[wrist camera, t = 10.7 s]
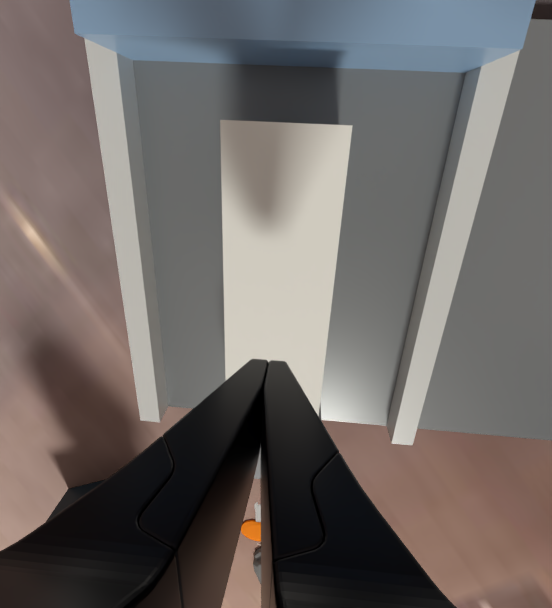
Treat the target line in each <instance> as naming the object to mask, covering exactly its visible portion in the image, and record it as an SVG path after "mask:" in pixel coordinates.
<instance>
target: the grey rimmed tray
mask: <svg viewBox="0 0 552 608" xmlns="http://www.w3.org/2000/svg"><path fill="white" fill-rule="evenodd" d="M535 1H536V0H70V6H71V12H72V19H73V25H74V32H75V34H77V35H79V36H81V37H83V38H85V45H86V52H87V59H88V65H89V72H90V79H91V86H92V93H93V99H94V106H95V113H96V120H97V127H98V134H99V140H100V147H101V154H102V161H103V168H104V175H105V181H106V188H107V195H108V202H109V209H110V216H111V222H112V229H113V236H114V243H115V250H116V257H117V263H118V270H119V277H120V284H121V291H122V298H123V304H124V311H125V318H126V325H127V332H128V338H129V345H130V352H131V359H132V366H133V373H134V379H135V386H136V393H137V400H138V407H139V414H140V420H141V421H152V422H160V421H161V419H162V417H163V415H164V413H165V411H166V410H167V408H168V406H171V407H183V408H195V407H196V406H197V405H198V404H199V403H200V402H202V401H203V400H204V399H205V398H206V397H207V396H209V395H210V394H211V393H212V392H213V391H214V390H216V389H217V388H218V387H219V386H220V385H221V384H223V383H224V382H225V381H226V379H225V331H224V283H223V235H222V186H221V138H220V120H237V121H261V122H284V123H307V124H330V125H353V126H352V134H351V143H350V151H349V160H348V168H347V177H346V186H345V194H344V203H343V211H342V220H341V228H340V237H339V245H338V254H337V263H336V271H335V280H334V288H333V297H332V305H331V314H330V322H329V331H328V339H327V348H326V357H325V365H324V374H323V382H322V391H321V399H320V403H321V420H329V421H340V422H351V423H362V424H373V425H385V426H387V429H388V433H389V436H390V440H391V443H392V444H403V445H413V441H414V438H415V434H416V430H417V428H418V429H430V430H441V431H452V432H463V433H474V434H486V435H497V436H508V437H519V438H530V439H542V440H552V20H545V19H531V16H532V12H533V8H534V5H535Z"/></svg>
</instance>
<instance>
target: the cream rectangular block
mask: <svg viewBox="0 0 552 608" xmlns="http://www.w3.org/2000/svg"><path fill="white" fill-rule="evenodd" d="M352 126H353V125H330V124H307V123H284V122H261V121H237V120H220V138H221V186H222V235H223V283H224V331H225V379H226V380H227V379H228V378H230V377H231V376H232V375H233V374H234V373H235V372H237V371H238V370H239V369H240V368H241V367H242V366H244V365H245V364H246V363H247V362H248V361H249V360H251V359H264V360H267V361H268V363H269V361H271V360H277V361H285V362H286V363H287V364H288V366H289V367H290V369H291V371H292V373H293V374H294V376H295V378H296V379H297V381H298V383H299V384H300V386H301V388H302V389H303V391H304V393H305V395H306V396H307V398H308V400H309V401H310V403H311V405H312V406H313V408H314V410H315V411H316V413H317V415H318V417H319V418H320V420H321V403H320V399H321V391H322V382H323V374H324V365H325V357H326V348H327V339H328V331H329V322H330V314H331V305H332V297H333V288H334V280H335V271H336V263H337V254H338V245H339V237H340V228H341V220H342V211H343V203H344V194H345V186H346V177H347V168H348V160H349V151H350V143H351V134H352ZM260 458H261V448H260V454H259V459H258V463H257V467H256V471H255V475H254V478H256V479H260Z"/></svg>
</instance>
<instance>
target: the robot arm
mask: <svg viewBox="0 0 552 608" xmlns="http://www.w3.org/2000/svg"><path fill="white" fill-rule="evenodd" d="M260 448H261V458H260V482H261V608H457V607H456V606H454V605H453V604H452V603H451V602H450V601H449V600H448V598H447V597H446V596H445V595H444V594H443V593H442V592H441V591H440V590H439V589H438V587H437V586H436V585H435V584H434V582H433V581H432V580H431V579H430V577H429V576H428V575H427V573H426V572H425V571H424V570H423V568H422V567H421V566H420V564H419V563H418V562H417V560H416V559H415V558H414V557H413V555H412V554H411V553H410V551H409V550H408V549H407V547H406V546H405V545H404V544H403V542H402V541H401V540H400V538H399V537H398V536H397V534H396V533H395V532H394V531H393V529H392V528H391V527H390V525H389V524H388V523H387V521H386V520H385V519H384V518H383V516H382V515H381V514H380V512H379V511H378V510H377V508H376V507H375V506H374V504H373V503H372V501H371V500H370V499H369V497H368V496H367V495H366V493H365V492H364V490H363V489H362V488H361V486H360V484H359V483H358V481H357V480H356V478H355V477H354V475H353V473H352V472H351V470H350V469H349V467H348V465H347V464H346V462H345V460H344V459H343V457H342V455H341V454H340V453H339V450H338V449H337V447H336V445H335V444H334V442H333V440H332V439H331V437H330V435H329V433H328V432H327V430H326V428H325V427H324V425H323V423H322V422H321V420H320V418H319V417H318V415H317V413H316V411H315V410H314V408H313V406H312V405H311V403H310V401H309V400H308V398H307V396H306V395H305V393H304V391H303V389H302V388H301V386H300V384H299V383H298V381H297V379H296V378H295V376H294V374H293V373H292V371H291V369H290V367H289V366H288V364H287V363H286V362H285V361H277V360H271V361H269V363H268V361H267V360H264V359H251V360H249V361H248V362H247V363H246V364H245V365H244V366H242V367H241V368H240V369H239V370H238V371H237V372H235V373H234V374H233V375H232V376H231V377H230V378H228V379H227V380H226V381H225V382H224V383H223V384H221V385H220V386H219V387H218V388H217V389H216V390H214V391H213V392H212V393H211V394H210V395H209V396H207V397H206V398H205V399H204V400H203V401H202V402H200V403H199V404H198V405H197V406H196V407H195V408H193V409H192V410H191V411H190V412H189V413H188V414H186V415H185V416H184V417H183V418H182V419H181V420H179V421H178V422H177V423H176V424H175V425H174V426H172V427H171V428H170V429H169V430H168V431H167V432H165V433H164V434H163V437H159V438H158V439H157V440H156V441H155V442H154V443H152V444H151V445H150V446H149V447H148V448H146V449H145V450H144V451H143V452H141V453H140V454H139V455H138V456H137V457H135V458H134V459H133V460H132V461H130V462H129V463H128V464H127V465H125V466H124V467H123V468H121V469H120V470H119V471H117V472H116V473H114V474H113V475H112V476H110V477H109V478H108V479H106V480H105V481H104V482H102V483H101V484H100V485H98V486H97V487H95V488H94V489H92V490H91V491H90V492H88V493H87V494H85V495H84V496H82V497H81V498H80V499H78V500H77V501H75V502H74V503H73V504H71V505H70V506H68V507H67V508H65V509H64V510H63V511H61V512H60V513H58V514H57V515H55V516H54V517H53V518H51V519H50V520H48V521H47V522H46V523H44V524H43V525H41V526H40V527H38V528H37V529H36V530H34V531H33V532H31V533H30V534H28V535H27V536H25V537H24V538H22V539H21V540H19V541H18V542H16V543H14V544H12V545H11V546H9V547H7V548H5V549H4V550H2V551H0V608H221V605H222V601H223V597H224V594H225V590H226V586H227V582H228V578H229V574H230V570H231V566H232V562H233V558H234V554H235V550H236V546H237V542H238V538H239V534H240V530H241V527H242V523H243V519H244V515H245V511H246V507H247V503H248V499H249V495H250V491H251V487H252V483H253V479H254V475H255V471H256V467H257V463H258V459H259V454H260Z"/></svg>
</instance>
